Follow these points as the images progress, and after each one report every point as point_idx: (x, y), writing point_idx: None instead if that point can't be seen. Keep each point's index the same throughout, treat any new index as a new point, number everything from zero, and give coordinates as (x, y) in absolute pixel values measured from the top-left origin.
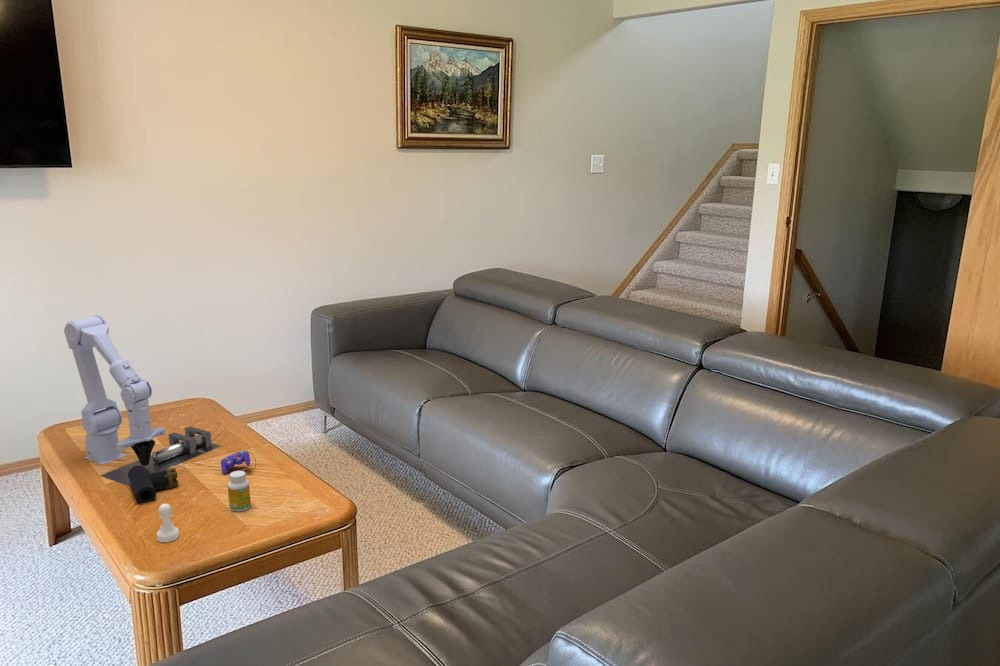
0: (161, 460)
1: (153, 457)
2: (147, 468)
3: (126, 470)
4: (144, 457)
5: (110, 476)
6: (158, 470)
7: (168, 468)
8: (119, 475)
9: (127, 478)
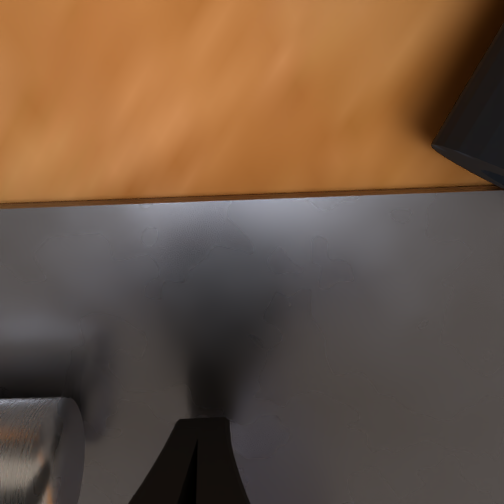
0: (30, 399)
1: (67, 497)
2: (208, 389)
3: (344, 493)
4: (235, 495)
5: (499, 494)
6: (168, 255)
7: (62, 207)
8: (450, 456)
9: (471, 347)
